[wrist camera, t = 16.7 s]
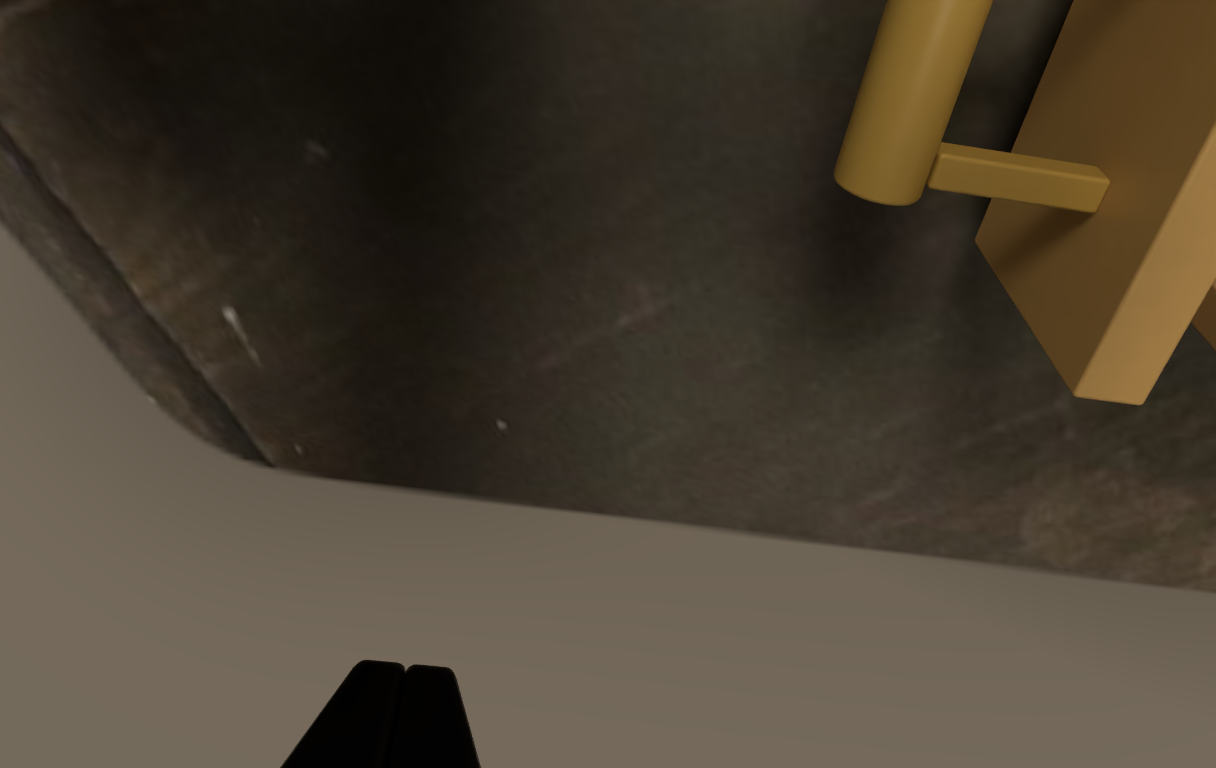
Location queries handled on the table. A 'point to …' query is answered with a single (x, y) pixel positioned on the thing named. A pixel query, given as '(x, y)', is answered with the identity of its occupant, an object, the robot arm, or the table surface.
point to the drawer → (1067, 174)
